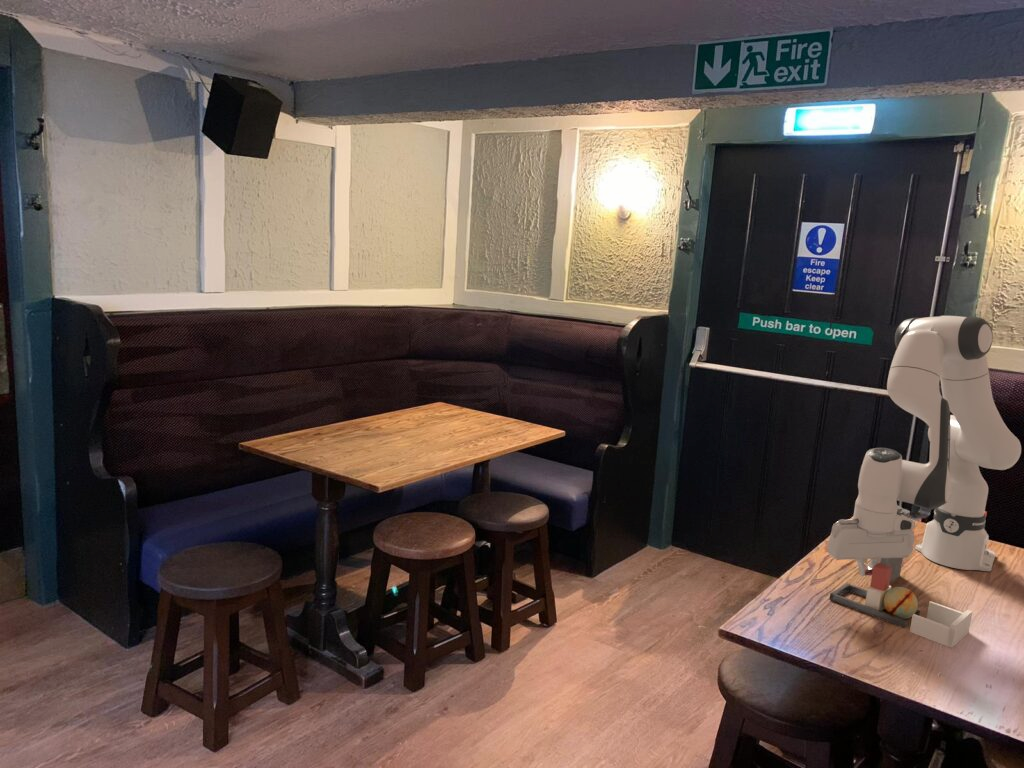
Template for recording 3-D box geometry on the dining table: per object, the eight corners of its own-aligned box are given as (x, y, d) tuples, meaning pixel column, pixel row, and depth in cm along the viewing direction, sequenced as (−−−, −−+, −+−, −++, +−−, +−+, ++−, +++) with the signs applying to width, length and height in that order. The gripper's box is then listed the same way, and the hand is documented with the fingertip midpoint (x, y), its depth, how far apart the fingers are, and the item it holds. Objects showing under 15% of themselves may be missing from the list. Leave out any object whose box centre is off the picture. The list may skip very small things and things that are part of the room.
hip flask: (882, 594, 189) (894, 515, 185) (864, 588, 191) (876, 511, 187) (901, 575, 200) (913, 501, 197) (884, 570, 203) (896, 497, 199)
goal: (927, 617, 178) (931, 597, 177) (968, 632, 172) (972, 611, 171) (909, 631, 170) (913, 610, 169) (951, 647, 164) (955, 626, 163)
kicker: (875, 601, 184) (881, 561, 182) (888, 605, 181) (894, 565, 180) (864, 608, 180) (870, 567, 178) (877, 613, 177) (884, 572, 176)
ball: (875, 614, 178) (879, 585, 176) (890, 606, 182) (895, 578, 181) (906, 627, 172) (910, 598, 171) (921, 619, 176) (925, 590, 175)
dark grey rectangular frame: (846, 588, 190) (847, 583, 190) (919, 615, 178) (920, 609, 178) (829, 599, 184) (830, 593, 184) (904, 627, 172) (905, 621, 172)
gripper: (842, 524, 174) (833, 582, 177) (922, 522, 178) (912, 579, 181) (825, 514, 180) (818, 570, 183) (903, 513, 184) (894, 567, 187)
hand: (865, 574), depth 182 cm, fingers closed
